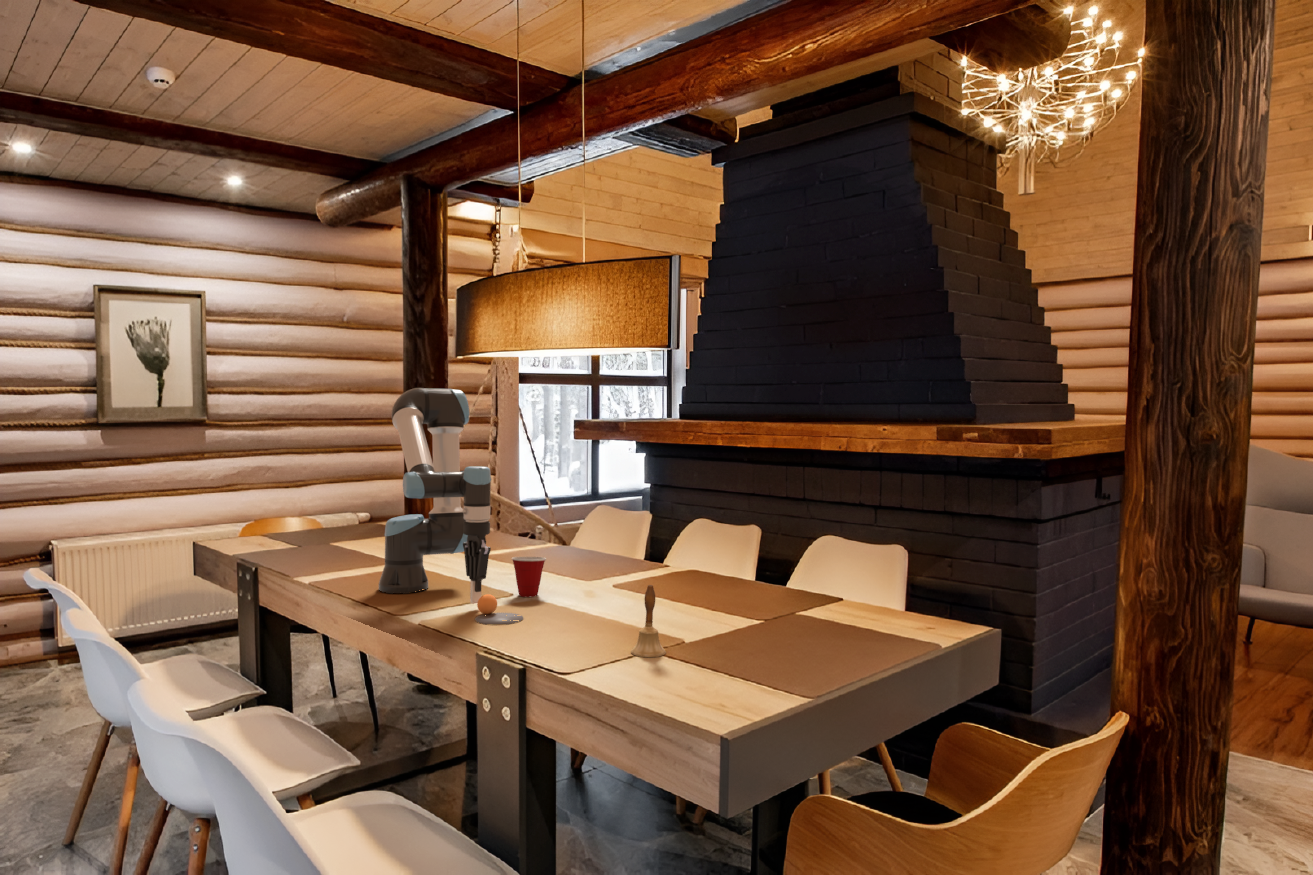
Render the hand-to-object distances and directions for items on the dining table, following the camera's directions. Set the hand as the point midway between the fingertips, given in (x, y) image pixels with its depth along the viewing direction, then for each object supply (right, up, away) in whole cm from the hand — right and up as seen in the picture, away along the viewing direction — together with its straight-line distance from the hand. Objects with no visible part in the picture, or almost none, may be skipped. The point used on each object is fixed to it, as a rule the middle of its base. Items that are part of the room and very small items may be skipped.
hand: (475, 602), depth 232 cm
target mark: (+9, -2, -11) cm, 14 cm away
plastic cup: (+12, -2, +20) cm, 24 cm away
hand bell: (+50, -4, -40) cm, 64 cm away
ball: (+4, +1, -5) cm, 7 cm away
